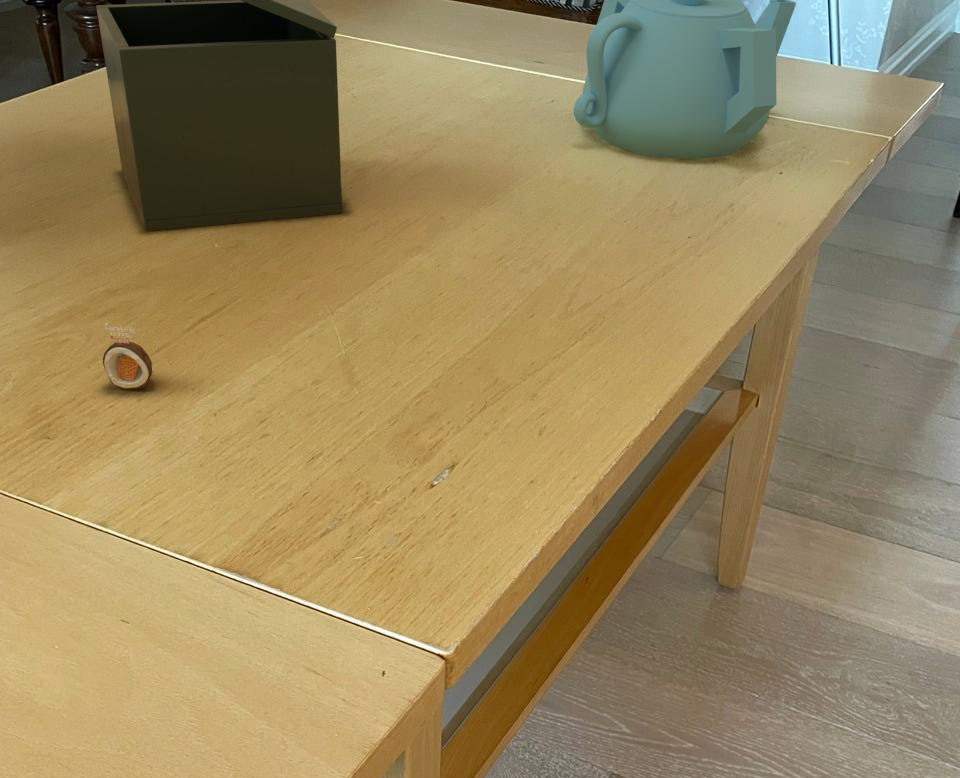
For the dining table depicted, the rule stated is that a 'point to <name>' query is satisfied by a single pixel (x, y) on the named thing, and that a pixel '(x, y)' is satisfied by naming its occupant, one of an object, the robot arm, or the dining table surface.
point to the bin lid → (298, 13)
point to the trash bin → (222, 113)
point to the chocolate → (127, 362)
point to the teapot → (681, 75)
